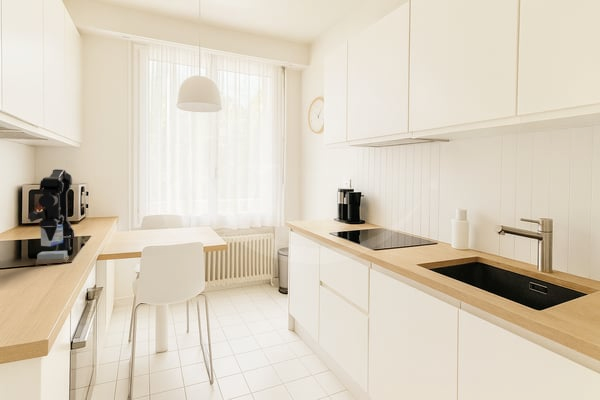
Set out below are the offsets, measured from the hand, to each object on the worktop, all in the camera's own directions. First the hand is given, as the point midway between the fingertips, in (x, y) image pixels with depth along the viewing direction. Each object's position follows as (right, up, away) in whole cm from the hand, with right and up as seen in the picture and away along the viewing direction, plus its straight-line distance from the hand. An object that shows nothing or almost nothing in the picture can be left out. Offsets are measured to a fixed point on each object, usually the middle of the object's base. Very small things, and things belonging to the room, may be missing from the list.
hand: (52, 238), depth 150 cm
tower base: (-1, -12, +1) cm, 12 cm away
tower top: (-1, -9, +1) cm, 9 cm away
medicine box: (0, -3, 0) cm, 3 cm away
